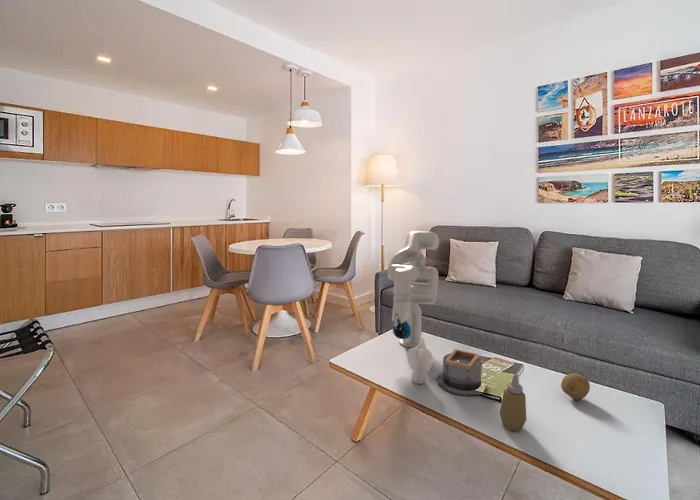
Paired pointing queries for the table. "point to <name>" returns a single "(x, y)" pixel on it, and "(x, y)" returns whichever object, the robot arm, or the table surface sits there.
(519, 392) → the squeeze bottle
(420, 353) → the shell sculpture
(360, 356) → the table surface
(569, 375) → the natural sponge
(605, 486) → the table surface
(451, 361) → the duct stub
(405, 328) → the ornament
